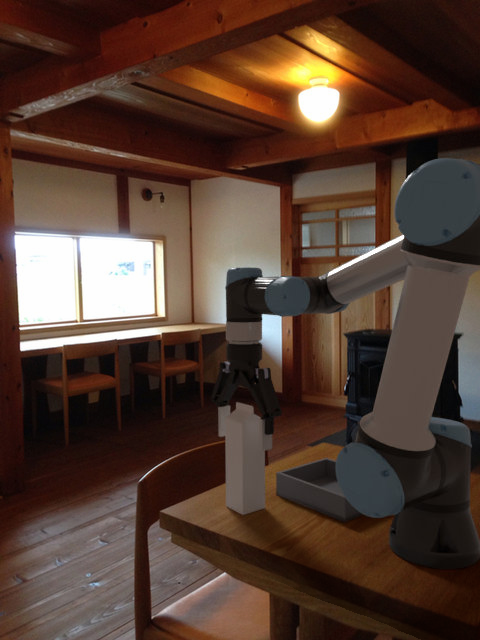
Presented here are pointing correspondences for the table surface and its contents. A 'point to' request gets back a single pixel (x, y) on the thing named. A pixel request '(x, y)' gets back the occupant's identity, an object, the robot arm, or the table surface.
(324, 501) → the bin
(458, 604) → the table surface
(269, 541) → the table surface
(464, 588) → the table surface
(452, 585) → the table surface
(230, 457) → the milk
